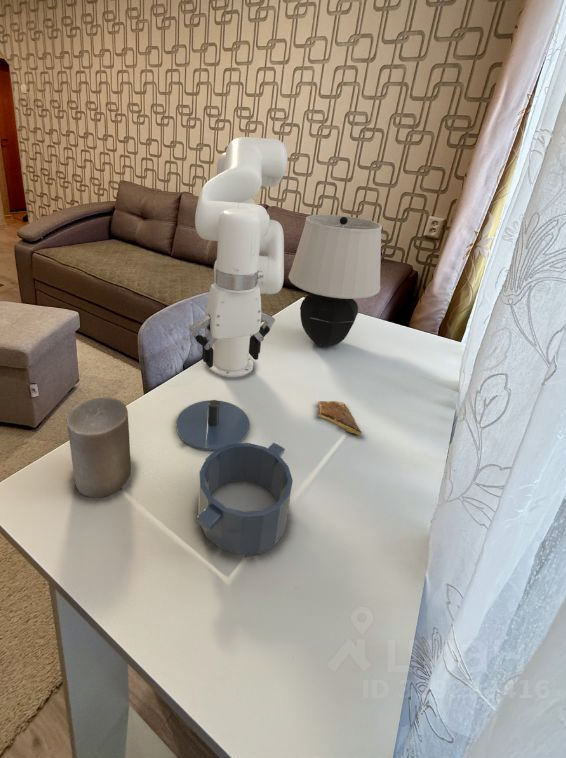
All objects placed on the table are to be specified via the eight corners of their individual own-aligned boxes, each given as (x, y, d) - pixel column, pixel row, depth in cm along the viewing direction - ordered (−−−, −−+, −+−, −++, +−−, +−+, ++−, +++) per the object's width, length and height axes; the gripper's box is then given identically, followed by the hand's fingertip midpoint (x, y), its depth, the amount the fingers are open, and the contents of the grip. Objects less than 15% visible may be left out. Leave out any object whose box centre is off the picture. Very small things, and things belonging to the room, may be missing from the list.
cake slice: (360, 437, 85) (362, 431, 85) (326, 438, 84) (327, 432, 84) (343, 406, 95) (344, 400, 95) (312, 407, 94) (313, 400, 94)
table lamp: (316, 318, 143) (333, 206, 128) (383, 348, 125) (412, 222, 110) (263, 338, 126) (276, 211, 110) (332, 375, 108) (358, 230, 92)
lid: (160, 428, 83) (160, 404, 81) (210, 396, 95) (211, 374, 93) (216, 465, 75) (218, 440, 73) (263, 424, 87) (265, 401, 85)
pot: (167, 530, 62) (167, 490, 59) (244, 458, 77) (247, 423, 74) (240, 592, 54) (244, 550, 51) (309, 499, 69) (316, 462, 66)
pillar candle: (140, 462, 75) (138, 396, 69) (114, 504, 66) (108, 433, 60) (93, 451, 76) (87, 386, 70) (61, 491, 67) (51, 420, 62)
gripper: (269, 270, 79) (261, 345, 85) (184, 275, 72) (183, 357, 78) (287, 282, 72) (278, 362, 79) (197, 289, 65) (195, 377, 72)
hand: (231, 360), depth 78 cm, fingers open, 9 cm apart
